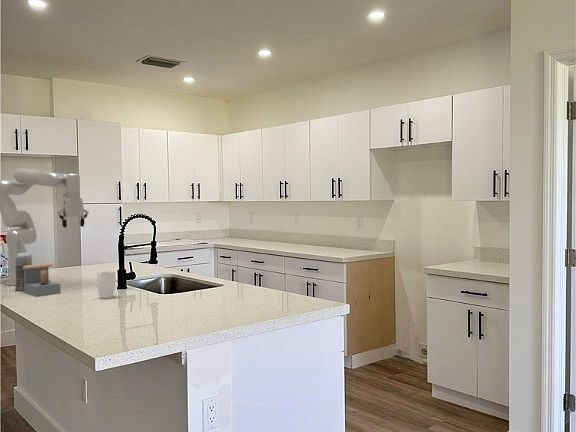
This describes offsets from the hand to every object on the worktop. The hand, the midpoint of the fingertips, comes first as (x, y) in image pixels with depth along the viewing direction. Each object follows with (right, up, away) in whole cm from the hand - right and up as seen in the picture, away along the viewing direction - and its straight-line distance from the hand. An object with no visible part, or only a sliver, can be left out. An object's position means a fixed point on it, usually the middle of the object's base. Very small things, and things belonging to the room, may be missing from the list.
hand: (73, 226), depth 285 cm
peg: (-6, -34, -20) cm, 40 cm away
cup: (+29, -35, -30) cm, 54 cm away
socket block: (-9, -34, -18) cm, 39 cm away
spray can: (-23, -34, -9) cm, 42 cm away
